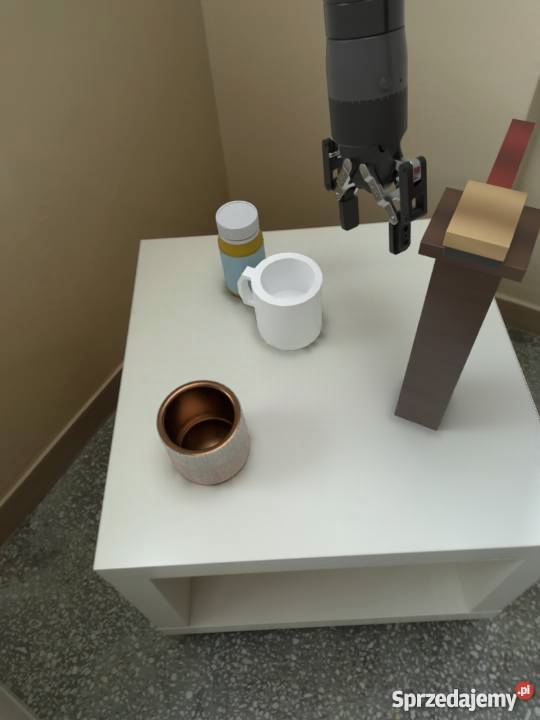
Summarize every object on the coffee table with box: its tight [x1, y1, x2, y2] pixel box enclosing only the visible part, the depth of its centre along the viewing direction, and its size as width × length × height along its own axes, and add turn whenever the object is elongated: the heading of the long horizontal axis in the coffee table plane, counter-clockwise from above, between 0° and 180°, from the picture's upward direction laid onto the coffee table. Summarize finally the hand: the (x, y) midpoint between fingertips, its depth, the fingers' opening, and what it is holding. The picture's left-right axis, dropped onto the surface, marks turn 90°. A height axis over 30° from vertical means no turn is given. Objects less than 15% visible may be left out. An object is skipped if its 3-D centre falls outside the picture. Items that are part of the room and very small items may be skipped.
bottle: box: [215, 200, 267, 298], centre depth 83 cm, size 7×7×15 cm
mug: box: [237, 252, 324, 351], centre depth 80 cm, size 14×10×11 cm
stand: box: [394, 186, 540, 431], centre depth 61 cm, size 8×9×33 cm
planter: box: [155, 379, 251, 486], centre depth 69 cm, size 11×11×10 cm
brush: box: [443, 118, 536, 269], centre depth 48 cm, size 19×5×3 cm, turn 154°
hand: (373, 239), depth 61 cm, fingers open, 8 cm apart
